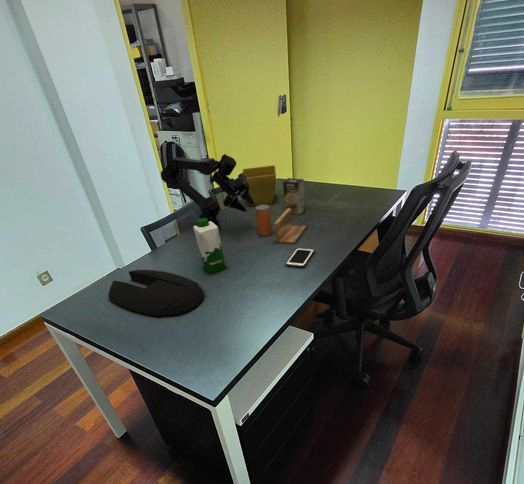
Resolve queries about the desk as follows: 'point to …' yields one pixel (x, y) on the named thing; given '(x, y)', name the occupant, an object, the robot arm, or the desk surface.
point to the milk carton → (209, 245)
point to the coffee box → (294, 195)
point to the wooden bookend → (287, 229)
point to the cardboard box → (261, 184)
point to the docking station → (157, 293)
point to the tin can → (263, 220)
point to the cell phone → (300, 257)
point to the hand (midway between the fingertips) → (250, 207)
